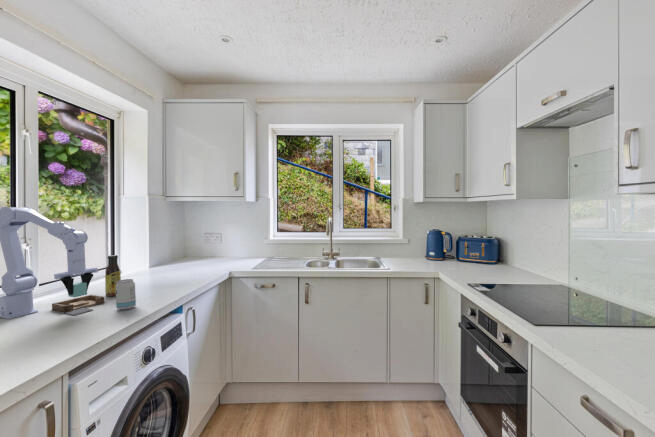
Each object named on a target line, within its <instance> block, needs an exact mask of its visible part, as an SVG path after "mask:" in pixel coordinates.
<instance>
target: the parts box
mask: <svg viewBox="0 0 655 437" xmlns="http://www.w3.org/2000/svg"><path fill="white" fill-rule="evenodd" d="M101 304H105V296H102V295H96V294H87V295H83V296H78V297H73V298H71V299H65V300H63V301H62V300H61V301H58V302H53V303H52V304H51V309H52V311H54V312H59V313H62V314H64V313H65V312H69V311H73V310H76V309H80V308H90V307H93V306H94V307H95V306H97V305H101Z"/></svg>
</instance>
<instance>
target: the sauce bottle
mask: <svg viewBox="0 0 655 437" xmlns="http://www.w3.org/2000/svg"><path fill="white" fill-rule="evenodd" d="M118 258H119V256H118V254H114V255H111V254H110V255H107V260H108V261H107V262H108V265H107V267H106V269H105V276H104V278H105V282H104V283H105V288H104V289H105V293H104V294H105V297H116V284H117V281H120V280H122V279H121V278H122V277H121V275H122V274H121V269H120V267H119V264H118Z"/></svg>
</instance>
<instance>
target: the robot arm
mask: <svg viewBox="0 0 655 437" xmlns="http://www.w3.org/2000/svg"><path fill="white" fill-rule="evenodd" d="M28 223H32V224H34V225H37V226H39V227H41V228H44V229H45V230H47V233H48V234H49V235H51V236H53V237H55V238H57V239H59V240H61V241H62V243H63V244H64V247H65V249H66V258H67V261H66V262H67V264H66V265H67V271H63V272H58V273H54V274H53V276H54V278H53V279H54V280H60V281H61V282H62V284H63V285H64V287H65V290H66V291H67V294H68V296H69V295H73V283H74V281H75V278H73V277H77V276H80V280H81V282H86V283H87V291H88V289H89V285H90V282H91V280H92V279H93V277H94V273H98V272H99V269H98V267H88V268H86V248H85V244H86V243H87V242H88V239H89V238H88V234H87V233H86V232H85V231H84V230H82V229H81V230H76V228H74V227H70V226H68V225H66V223H65V222H64V221H55V222H54V221H53V220H50V219H49V218H47V217H45V216H44V215H42V214H40V213H39V212H37V210H35V209H32V208H31V207H29V206H23V207H20V206H19V207H18V206H17V207H16V206H14V207H13V206H2V207H0V248H1V250H2V255H3V258H4V264H5V266H6V270H7V271H6V272H5V273H4V274H3V275H2V276H1V285H0V287H1V290H2V292H3V293H4V294H5V295H1V296H0V318H2V317H3V319H6V320H10V319H14V318H18V317H23V316H25V315H31V314H34V313H38V312H39V310H37V309H34V296H33V295H34V293H33V292H34V290H35V288H36V286H37V285H38V278H37V276H36V275H35V274H34V271H33V270H32V269H30V268H28V267H27V266H26V265H27V264H26V261H25V257H24V254H23V250H22V249H23V248H22V245H21V241H20V237H19V233H18V231H19V229H20V228H21V227H23V226H25V225H27V224H28Z"/></svg>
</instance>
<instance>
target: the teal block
mask: <svg viewBox="0 0 655 437" xmlns="http://www.w3.org/2000/svg"><path fill="white" fill-rule="evenodd" d="M87 295H88V290H87V283H86V282H82V281H79V282H73V295H68V297H70V298H79V297H83V296H87Z"/></svg>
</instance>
